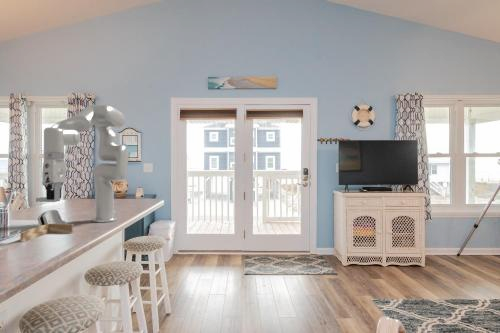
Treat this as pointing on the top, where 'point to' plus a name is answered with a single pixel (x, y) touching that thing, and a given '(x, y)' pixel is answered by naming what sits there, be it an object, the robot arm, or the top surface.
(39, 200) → the bracket
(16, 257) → the top surface
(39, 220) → the hinge
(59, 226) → the wooden corner frame
